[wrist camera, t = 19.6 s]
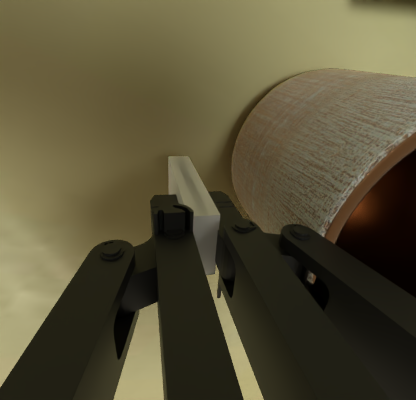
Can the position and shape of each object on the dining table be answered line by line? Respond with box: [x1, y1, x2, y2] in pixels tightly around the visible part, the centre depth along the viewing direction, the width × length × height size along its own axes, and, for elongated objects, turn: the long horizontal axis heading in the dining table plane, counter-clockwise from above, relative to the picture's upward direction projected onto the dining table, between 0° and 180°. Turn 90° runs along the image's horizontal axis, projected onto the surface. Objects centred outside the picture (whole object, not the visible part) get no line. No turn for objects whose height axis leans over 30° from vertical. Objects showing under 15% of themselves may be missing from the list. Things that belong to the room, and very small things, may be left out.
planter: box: [231, 68, 416, 298], centre depth 14 cm, size 11×11×10 cm
